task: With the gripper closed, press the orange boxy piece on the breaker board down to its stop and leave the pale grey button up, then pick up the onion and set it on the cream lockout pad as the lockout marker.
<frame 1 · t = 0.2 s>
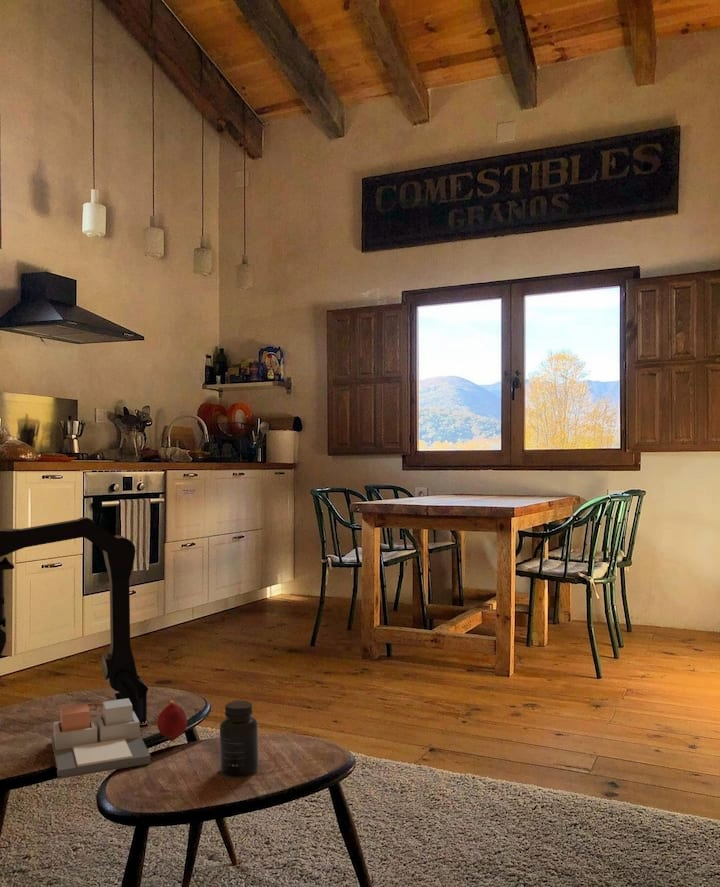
breaker board: (99, 752, 150), on the table
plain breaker: (117, 713, 156), point 6 cm above the table, slide at 0.0 cm
onion: (172, 741, 157), on the table
orange boxy piece: (75, 719, 153), point 6 cm above the table, slide at 0.0 cm
supplement bottle: (239, 771, 142), on the table
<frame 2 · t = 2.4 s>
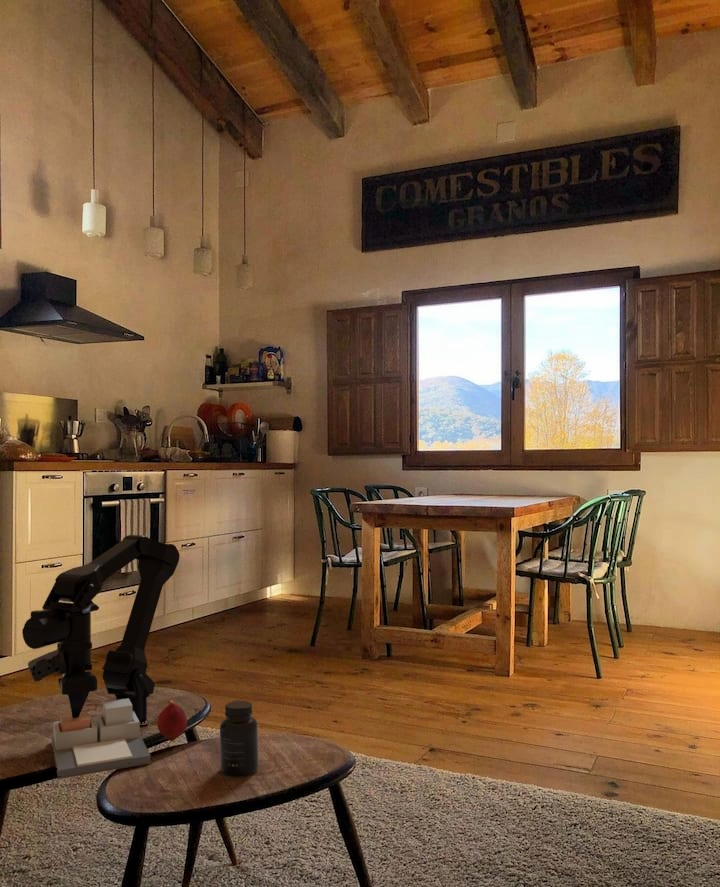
hand: (75, 717, 153), 6 cm above the table, fingers closed, pressing on orange boxy piece
orange boxy piece: (75, 727, 153), point 4 cm above the table, slide at 1.6 cm, touching gripper
everything else where it was.
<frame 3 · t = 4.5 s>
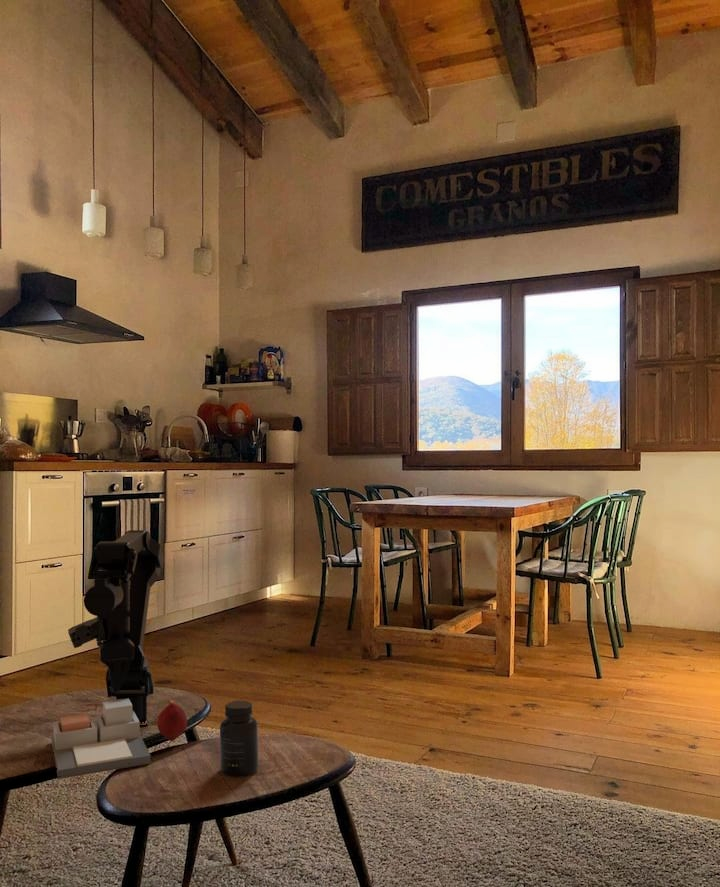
hand: (114, 684, 154), 12 cm above the table, fingers open, 9 cm apart
orange boxy piece: (75, 729, 153), point 4 cm above the table, slide at 2.0 cm
everything else where it was.
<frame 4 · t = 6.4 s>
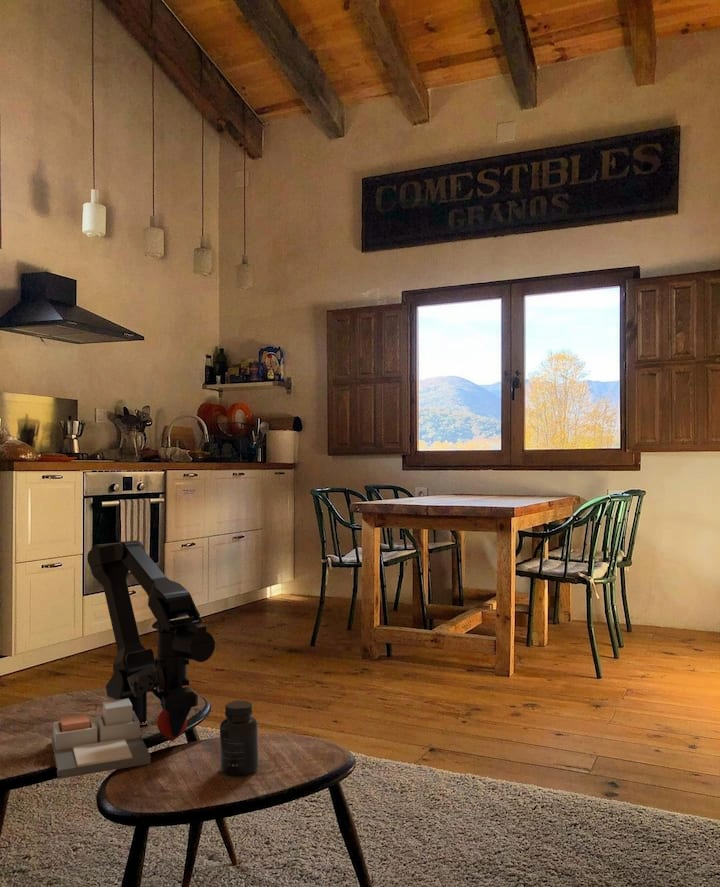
hand: (172, 731, 157), 2 cm above the table, fingers closed on onion, 6 cm apart
onion: (172, 741, 157), on the table, touching gripper
everything else where it was.
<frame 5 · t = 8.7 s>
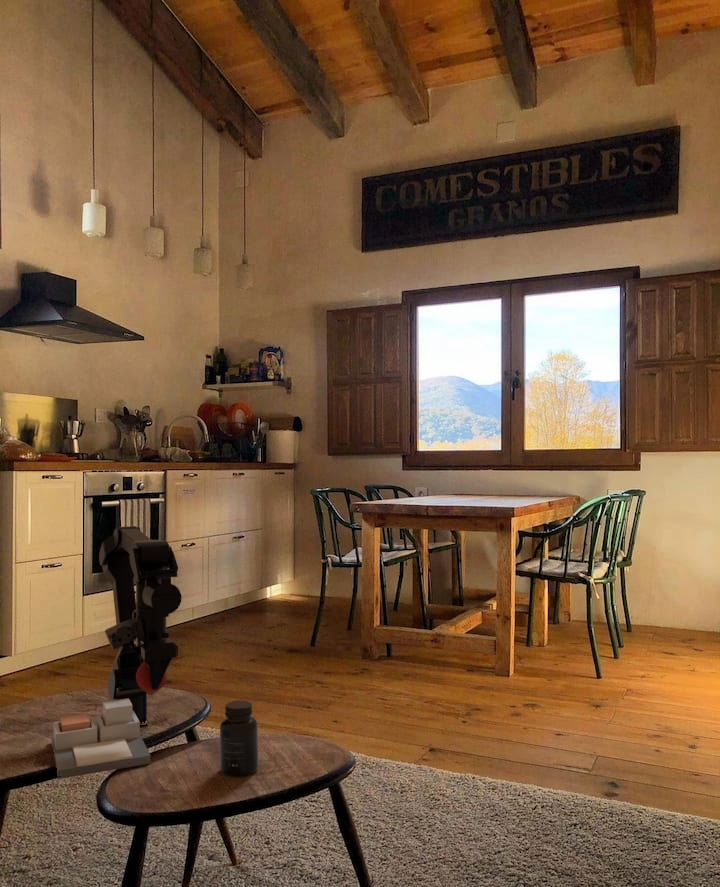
hand: (151, 685, 153), 12 cm above the table, fingers closed on onion, 6 cm apart
onion: (151, 696, 153), point 10 cm above the table, touching gripper
everything else where it was.
when the fingers open (5 cm above the table, at t = 11.0 s): onion drops 1 cm, resting on breaker board.
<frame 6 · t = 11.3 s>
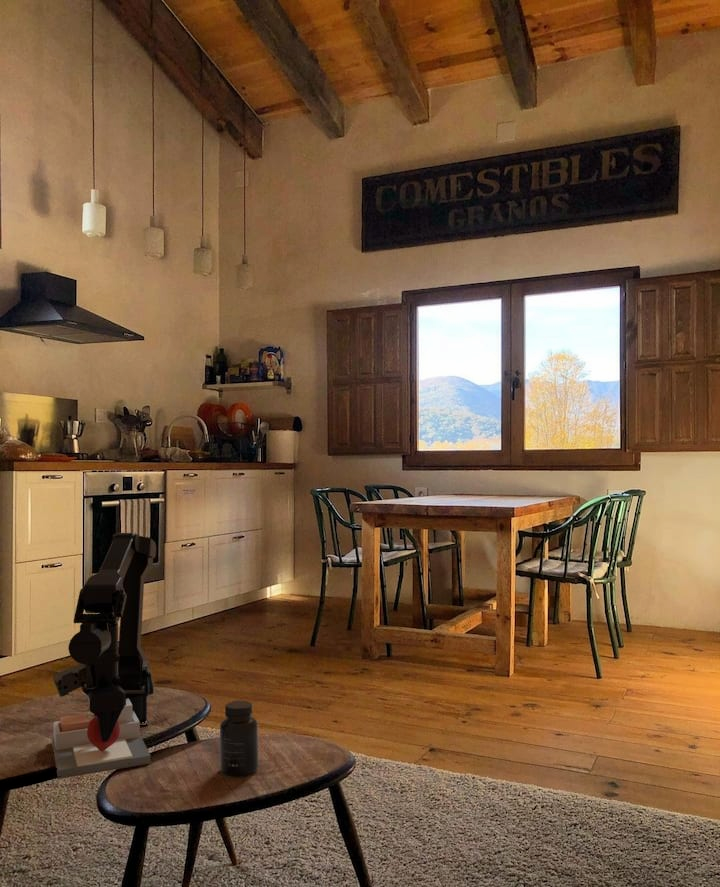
hand: (102, 733, 146), 5 cm above the table, fingers open, 9 cm apart
onion: (102, 751, 146), point 2 cm above the table, touching breaker board
everything else where it was.
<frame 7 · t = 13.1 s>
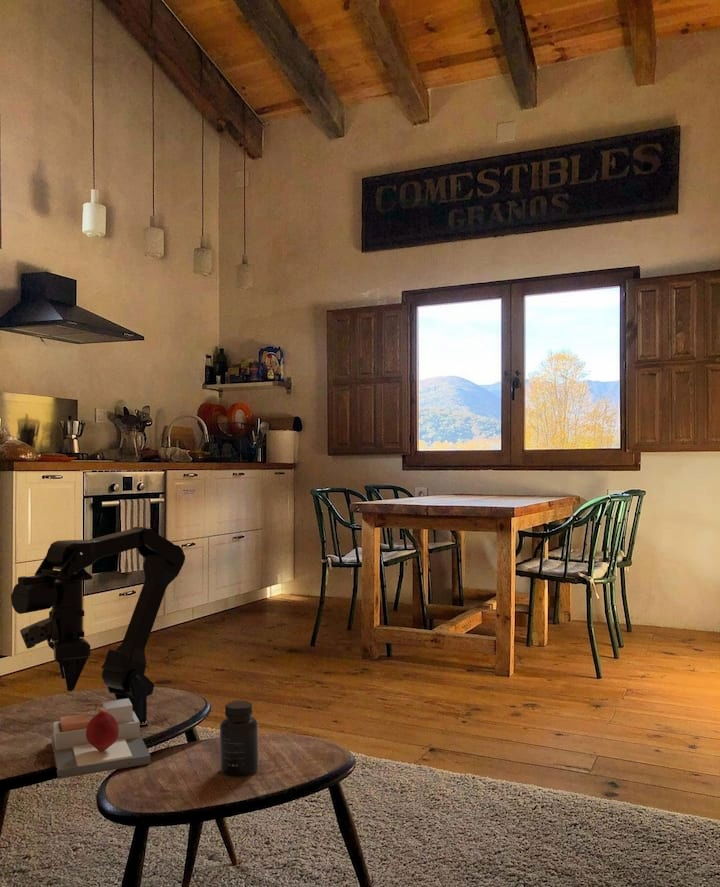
hand: (67, 684, 154), 12 cm above the table, fingers open, 9 cm apart
nothing on the table moved.
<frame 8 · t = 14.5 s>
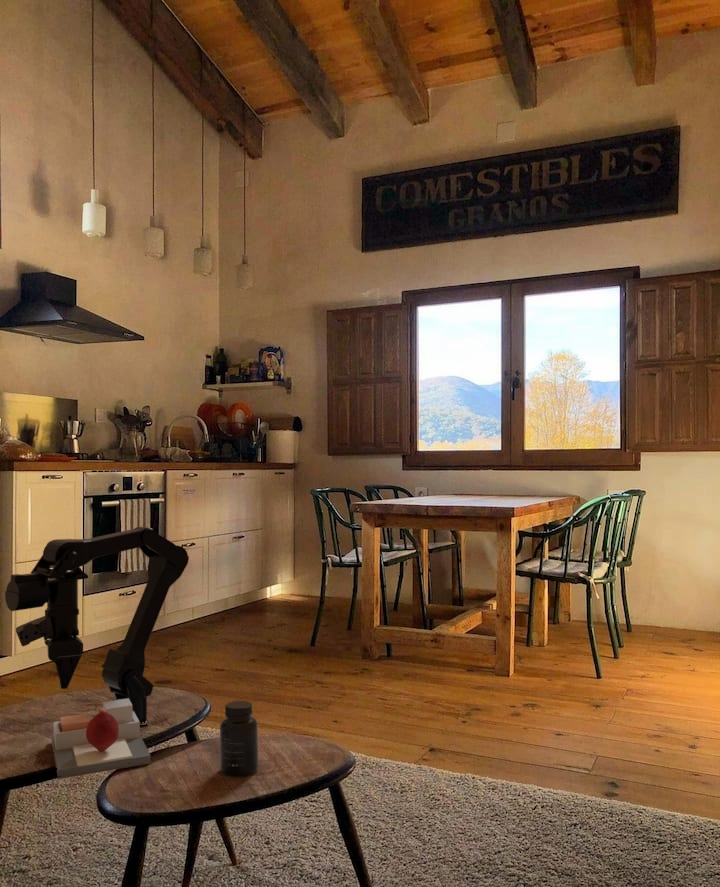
hand: (62, 682, 156), 12 cm above the table, fingers open, 9 cm apart
nothing on the table moved.
at the end: orange boxy piece slide at 2.0 cm; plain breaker slide at 0.0 cm; onion inside the target area (0.2 cm from its centre), point 1.7 cm above the table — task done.
